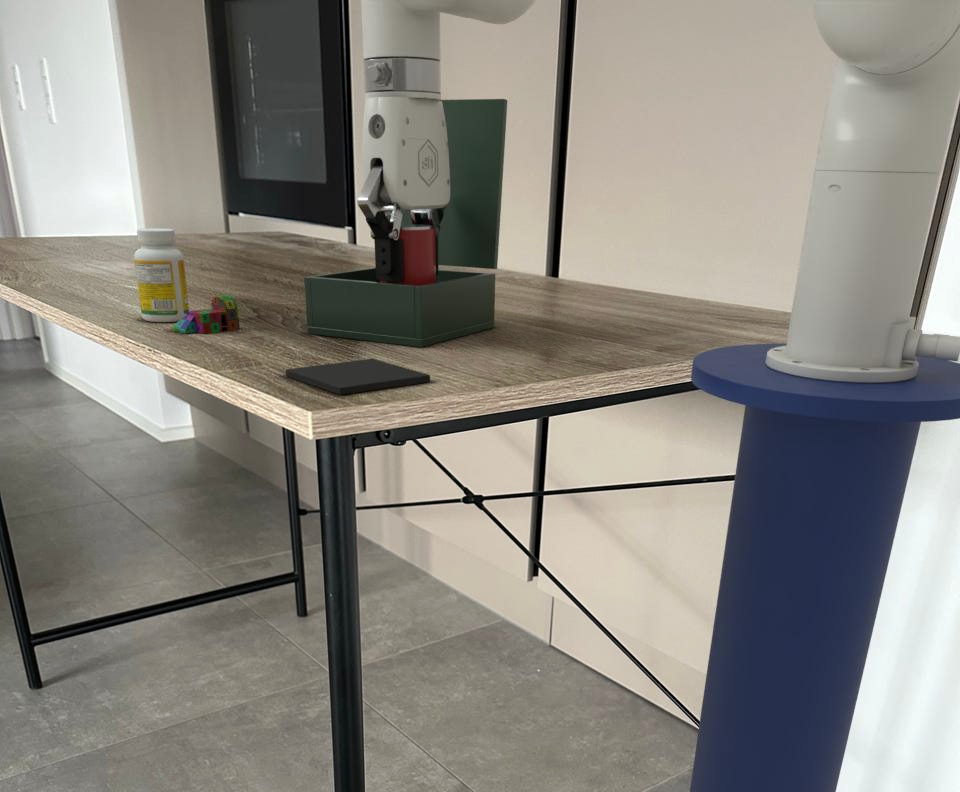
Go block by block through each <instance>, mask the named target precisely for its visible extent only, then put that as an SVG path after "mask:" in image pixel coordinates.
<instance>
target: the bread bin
mask: <svg viewBox="0 0 960 792" xmlns="http://www.w3.org/2000/svg"><path fill="white" fill-rule="evenodd" d="M303 281H304V295H305V311H306V324H307V325H306V326H307V334H308V335H315V336H323V337H324V336H325V337H331V338H332V337H333V338H341V339H347V340H349V339H350V340H356V341H357V340H358V341H367V342H376V343H382V344H392V345H400V346H408V347H409V346H410V347H416V348H423V347H426V346H432V345H434V344H438V343H442V342H446V341H449V340H453V339H457V338H460V337H464V336H468V335H470V334H475V333H478V332H482V331H487V330H489V329H493V328H495V311H496V310H495V309H496V273H493V272H481V271H470V270H469V271H467V270H455V269H454V270H452V269H442V268H441V269H440V268H439V273H438V275H437V276H436V283H431V284H425V285H420V286H417V285H405V284H394V283H382V282H380V281H379V280H377V278H376V267H375V266H373V267H364V268H357V269H350V270H344V271H337V272H329V273H321V274H315V275H308V276H304V277H303Z"/></svg>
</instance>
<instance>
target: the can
mask: <svg viewBox="0 0 960 792" xmlns="http://www.w3.org/2000/svg"><path fill="white" fill-rule="evenodd" d="M397 240H403V255H404V280H403V281H401V282H393V281H380V282H382V283H394V284H405V285H417V286H420V285H425V284H431V283H436V249H435V229H434V228H432V225H425V224H401V227H400V233H399V238H398V239H397Z"/></svg>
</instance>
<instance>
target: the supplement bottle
mask: <svg viewBox="0 0 960 792" xmlns="http://www.w3.org/2000/svg"><path fill="white" fill-rule="evenodd" d="M136 233H137V241H138V244H140V245H141V246H140V248H138V249H137V250H136V251H135V252H134V254H133V260H134V261H133V262H134V268H135V274H136V275H135V276H136V282H137V291H138V299H139V303H140V304H139V305H140V311H141V317H142V319H143V320H144V321H146V322H151V323H177V322H178V321H180V320H181V319H182V318H183V317H185V316H186V315H187V311H190V307H189V305H190V304H189V299H188V298H189V295H188V287H187V279H186V269H185V259H184V255H183V253H182V252H181V250H179V249H178V248H175V247H174V244H175V243H176V234H175V230H174V229H172V228H162V227H161V228H158V227H157V228H155V227H153V228H150V227H149V228H147V227H146V228H145V227H144V228H137V229H136Z"/></svg>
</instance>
